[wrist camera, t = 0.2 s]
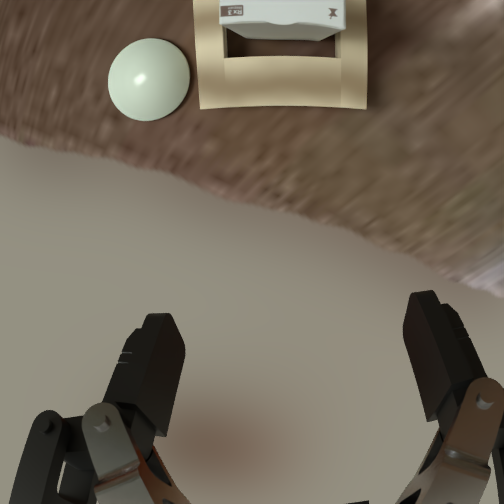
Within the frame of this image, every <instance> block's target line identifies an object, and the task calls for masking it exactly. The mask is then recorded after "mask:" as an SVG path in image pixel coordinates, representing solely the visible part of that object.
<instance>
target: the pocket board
mask: <svg viewBox="0 0 504 504" xmlns="http://www.w3.org/2000/svg"><path fill="white" fill-rule="evenodd" d="M193 9H194V27H195V44H196V59H197V73H198V86H199V99H200V109H209V108H223V107H243V106H323V107H342V108H356V109H366V105H367V13H366V0H346V29H344V30H342V31H340V32H337V33H335V58H327V57H307V56H256V57H235V58H228V50H227V32H226V27H224V26H222V25H220V24H219V0H193Z"/></svg>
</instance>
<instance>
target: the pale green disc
mask: <svg viewBox="0 0 504 504" xmlns="http://www.w3.org/2000/svg"><path fill="white" fill-rule="evenodd" d="M189 85H190V68H189V64H188V61H187V59H186V57H185V56H184V54H183V53H182V52H181V50H180V49H179V48H177V47H176V46H175V45H173V44H172V43H170V42H168V41H165V40H161V39H154V38H148V39H142V40H139V41H136V42H134V43H132V44H130V45H128V46H127V47H126V48H124V49H123V50H122V51H121V52H120V53H119V54H118V56H117V57H116V58H115V60H114V62H113V64H112V66H111V69H110V72H109V77H108V88H109V93H110V96H111V99H112V101H113V102H114V104H115V106H116V107H117V108H118V109H119V110H120V111H121V112H122V113H123V114H125V115H126V116H128V117H130V118H133V119H136V120H140V121H151V120H156V119H159V118H162V117H164V116H166V115H168V114H169V113H171V112H172V111H174V110H175V109H176V108H177V107H178V106H179V105H180V104H181V102H182V101H183V100H184V98H185V96H186V94H187V91H188V89H189Z"/></svg>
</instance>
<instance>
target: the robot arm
mask: <svg viewBox="0 0 504 504" xmlns="http://www.w3.org/2000/svg"><path fill="white" fill-rule="evenodd" d="M468 336H469V335H468V333H467V331H466V329H465V328H464V324H463V322H462V320H461V319H460V316H459V315H458V313H457V312H456V311H455V310H454V309H453V308H452V307H451V306H450V305H448V304H440V302H439V300H438V298H437V296H436V294H435V292H434V291H433V290H428V291H421V292H414V293H411V295H410V297H409V302H408V306H407V311H406V314H405V319H404V323H403V338H404V343H405V346H406V349H407V352H408V355H409V358H410V362H411V365H412V368H413V372H414V375H415V378H416V382H417V385H418V389H419V392H420V396H421V400H422V404H423V408H424V412H425V416H426V419H427V422H430V421H434V420H438V423H439V428H438V431H437V432H436V435H435V437H434V439H433V441H432V443H431V445H430V448H429V449H428V451H427V453H426V455H425V457H424V459H423V461H422V463H421V465H420V467H419V469H418V471H417V472H416V474H415V476H414V477H413V479H412V480H411V482H410V483H409V484H408V485H407V487H406V488H405V490H404V491H403V493H402V494H401V496H400V497H399V499H398V500H397V502H396V503H395V504H479V502H480V499H481V497H482V495H483V492H484V490H485V488H486V485H487V483H488V480H489V477H490V473H491V468H490V467H489V466H488V460H489V457H490V454H491V452H492V457H493V463H494V468H495V475H496V481H497V489H498V497H499V504H504V388H503V387H502V386H501V385H500V384H499V383H498V382H497V381H496V380H494V379H491V378H488V377H487V375H486V373H485V371H484V368H483V366H482V364H481V361H480V359H479V357H478V354H477V352H476V350H475V348H474V346H473V343H472V341H471V339H470V338H469V337H468ZM184 359H185V344H184V341H183V339H182V337H181V334H180V332H179V330H178V328H177V326H176V324H175V322H174V319H173V317H172V315H171V314H170V313H153V314H148V315H147V316H146V318H145V320H144V323H143V325H142V328H140V329H138V328H137V329H135V331H134V332H133V333H132V334H131V335H130V336H129V338H127V340H126V342H125V345H124V347H123V350H122V354H121V355H120V357H119V360H118V364H117V365H116V367H115V370H114V372H113V375H112V378H111V380H110V383H109V385H108V388H107V391H106V393H105V396H104V398H103V401H102V402H101V403H98V404H95V405H93V406H91V407H90V408H89V409H88V410H87V411H86V413H85V414H84V415H83V416H77V417H71V418H62V417H61V416H60V415H59V414H58V413H57V412H55V411H53V410H46V411H44V412H42V413H40V414H39V415H38V416H37V417H36V418H35V420H34V422H33V424H32V427H31V430H30V433H29V435H28V438H27V441H26V444H25V448H24V451H23V454H22V457H21V460H20V464H19V467H18V470H17V474H16V477H15V481H14V485H13V489H12V493H11V497H10V501H9V504H96V502H97V501H98V503H99V504H191V503H190V502H189V500H188V499H187V498H186V497H185V496H184V494H183V493H182V492H181V491H180V490H179V489H178V487H177V486H176V484H175V483H174V481H173V479H172V478H171V476H170V474H169V472H168V470H167V469H166V467H165V465H164V463H163V461H162V459H161V457H160V456H159V454H158V452H157V450H156V448H155V446H154V445H153V442H154V438H155V436H161V437H166V436H167V431H168V426H169V422H170V418H171V414H172V409H173V405H174V401H175V396H176V392H177V388H178V384H179V380H180V375H181V372H182V367H183V363H184ZM63 461H65V462H66V465H65V469H64V473H63V477H62V481H61V485H60V490H59V493H57V485H58V480H59V476H60V472H61V468H62V464H63ZM348 504H369V501H362V502H355V503H348Z"/></svg>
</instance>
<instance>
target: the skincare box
mask: <svg viewBox="0 0 504 504" xmlns="http://www.w3.org/2000/svg"><path fill="white" fill-rule="evenodd" d="M219 24H220V25H222V26H224V27H226V28H228V29H230V30H232V31H234V32H236V33H238V34H239V35H241V36H243V37H245V38H247V39H270V40H312V41H320V40H322V39H324V38H327V37H329V36H331V35H333V34H335V33H337V32H340V31H342V30H344V29H346V0H219Z"/></svg>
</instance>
